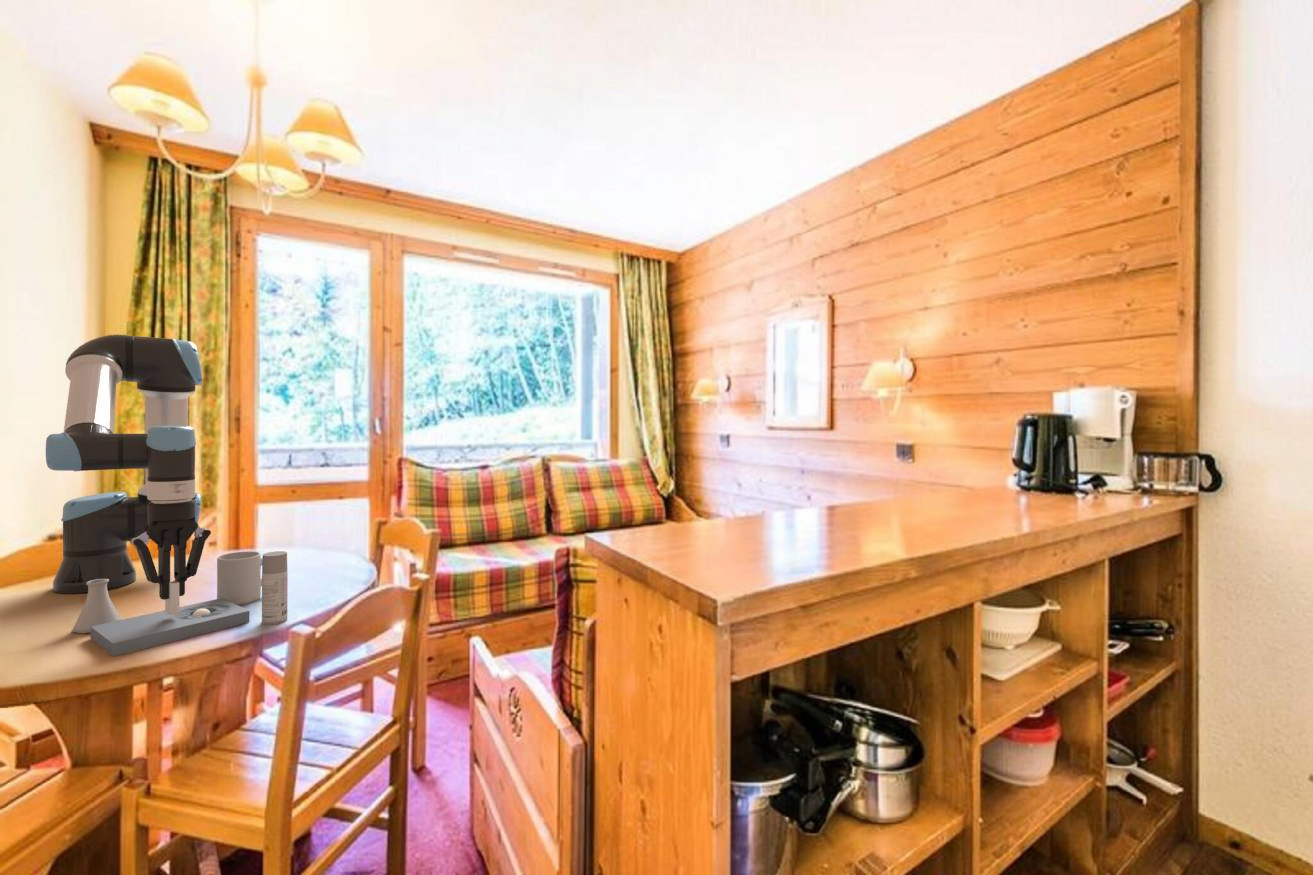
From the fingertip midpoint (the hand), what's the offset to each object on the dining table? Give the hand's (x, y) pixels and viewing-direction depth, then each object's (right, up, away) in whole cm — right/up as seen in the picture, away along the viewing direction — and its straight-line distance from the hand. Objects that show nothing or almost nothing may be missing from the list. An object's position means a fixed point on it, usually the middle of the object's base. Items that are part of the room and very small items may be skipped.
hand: (172, 612), depth 117 cm
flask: (-16, -4, 0) cm, 16 cm away
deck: (0, -4, 0) cm, 4 cm away
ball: (+3, -2, +4) cm, 5 cm away
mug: (+1, -3, +21) cm, 21 cm away
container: (+17, -4, +7) cm, 18 cm away
